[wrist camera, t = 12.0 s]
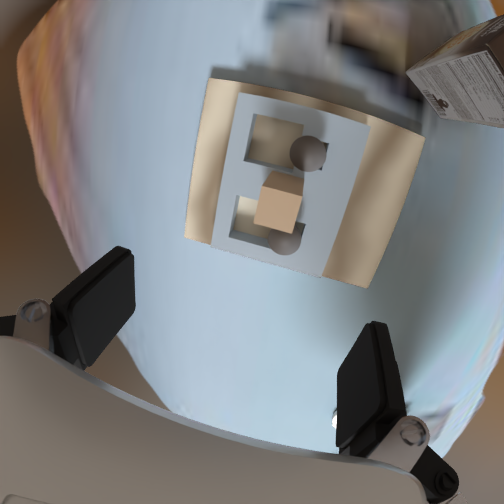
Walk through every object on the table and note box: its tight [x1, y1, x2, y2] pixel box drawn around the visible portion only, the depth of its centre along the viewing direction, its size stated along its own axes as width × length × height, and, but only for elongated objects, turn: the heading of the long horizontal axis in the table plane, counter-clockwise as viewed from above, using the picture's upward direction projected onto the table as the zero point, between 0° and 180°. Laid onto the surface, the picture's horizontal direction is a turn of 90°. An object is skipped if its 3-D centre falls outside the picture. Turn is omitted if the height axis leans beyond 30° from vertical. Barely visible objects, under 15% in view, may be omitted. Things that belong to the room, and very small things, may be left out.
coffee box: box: [406, 15, 504, 128], centre depth 13 cm, size 9×6×16 cm
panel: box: [211, 92, 371, 278], centre depth 24 cm, size 12×16×8 cm
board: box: [184, 78, 425, 289], centre depth 26 cm, size 22×18×6 cm
